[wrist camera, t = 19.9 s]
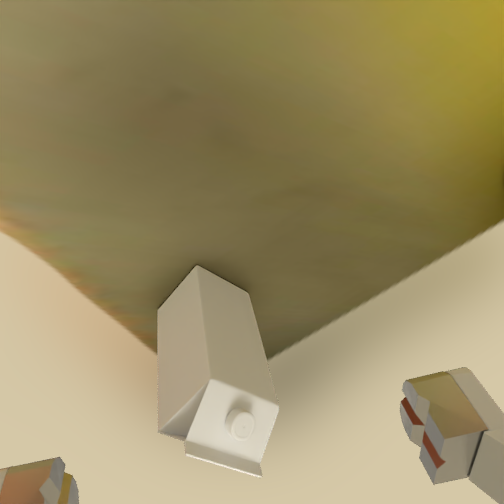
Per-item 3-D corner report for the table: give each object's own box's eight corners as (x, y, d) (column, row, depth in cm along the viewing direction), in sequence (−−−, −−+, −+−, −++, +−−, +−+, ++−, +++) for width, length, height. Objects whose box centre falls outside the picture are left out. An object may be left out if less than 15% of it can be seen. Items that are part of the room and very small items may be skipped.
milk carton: (210, 333, 51) (233, 500, 35) (156, 309, 48) (156, 481, 32) (249, 292, 49) (292, 452, 33) (196, 263, 45) (216, 425, 30)
